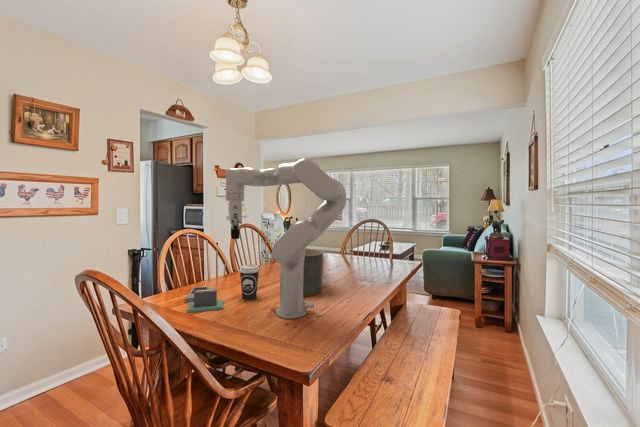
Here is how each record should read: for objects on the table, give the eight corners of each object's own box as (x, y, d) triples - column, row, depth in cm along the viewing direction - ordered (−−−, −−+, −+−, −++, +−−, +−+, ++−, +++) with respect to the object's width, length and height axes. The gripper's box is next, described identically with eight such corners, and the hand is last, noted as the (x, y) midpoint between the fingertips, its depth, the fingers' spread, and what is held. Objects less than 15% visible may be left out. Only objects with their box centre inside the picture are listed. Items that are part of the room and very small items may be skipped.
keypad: (184, 295, 135) (192, 286, 150) (185, 303, 136) (192, 293, 150) (207, 294, 137) (212, 285, 152) (207, 302, 137) (212, 292, 152)
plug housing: (216, 302, 134) (216, 288, 133) (216, 305, 130) (216, 290, 130) (194, 304, 131) (194, 289, 131) (194, 307, 127) (194, 292, 127)
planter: (319, 298, 144) (319, 256, 143) (274, 295, 148) (274, 254, 147) (325, 285, 166) (326, 249, 165) (286, 283, 169) (287, 248, 169)
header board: (222, 302, 137) (222, 291, 137) (222, 309, 128) (222, 298, 128) (189, 304, 133) (189, 294, 133) (186, 312, 123) (186, 301, 123)
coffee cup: (263, 297, 144) (263, 266, 143) (246, 302, 137) (246, 269, 136) (252, 293, 150) (252, 263, 150) (235, 297, 144) (235, 266, 143)
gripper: (245, 197, 122) (245, 239, 123) (242, 198, 139) (242, 235, 139) (226, 197, 120) (226, 240, 121) (225, 197, 136) (225, 235, 137)
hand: (234, 237), depth 130 cm, fingers open, 9 cm apart
